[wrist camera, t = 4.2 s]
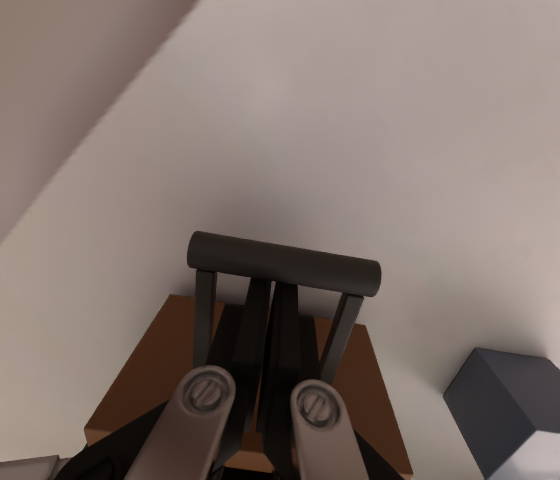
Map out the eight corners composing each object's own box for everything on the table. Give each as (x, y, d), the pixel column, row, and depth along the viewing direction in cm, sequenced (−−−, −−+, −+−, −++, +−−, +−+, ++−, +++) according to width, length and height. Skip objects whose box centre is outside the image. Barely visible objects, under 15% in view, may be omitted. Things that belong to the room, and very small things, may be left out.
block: (475, 347, 18) (536, 429, 13) (549, 358, 18) (635, 444, 13) (442, 396, 20) (485, 481, 15) (508, 406, 20) (570, 493, 16)
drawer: (168, 179, 13) (38, 259, 6) (407, 221, 13) (519, 337, 7) (172, 430, 22) (120, 571, 15) (315, 451, 22) (324, 597, 16)
